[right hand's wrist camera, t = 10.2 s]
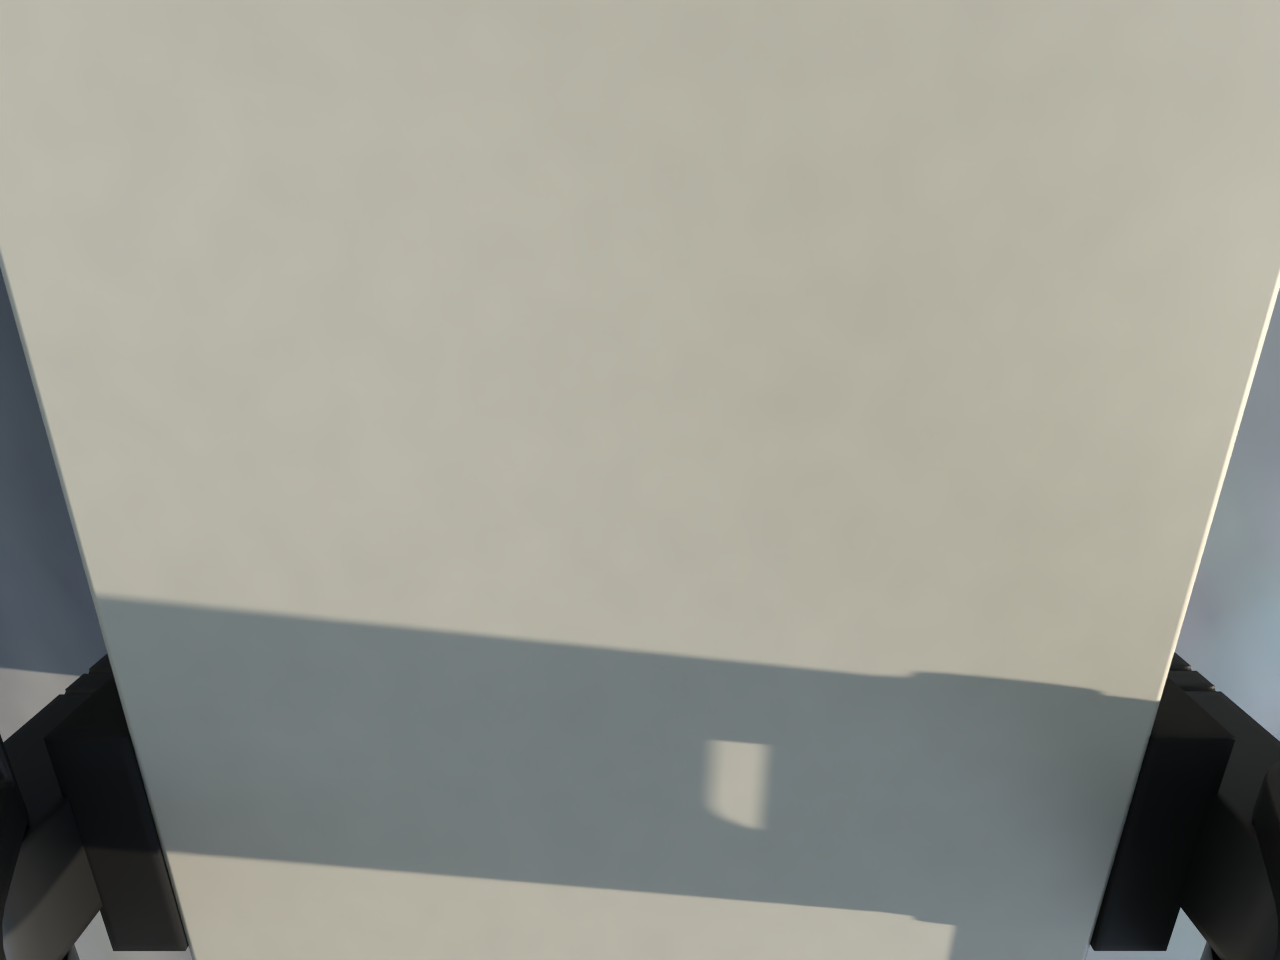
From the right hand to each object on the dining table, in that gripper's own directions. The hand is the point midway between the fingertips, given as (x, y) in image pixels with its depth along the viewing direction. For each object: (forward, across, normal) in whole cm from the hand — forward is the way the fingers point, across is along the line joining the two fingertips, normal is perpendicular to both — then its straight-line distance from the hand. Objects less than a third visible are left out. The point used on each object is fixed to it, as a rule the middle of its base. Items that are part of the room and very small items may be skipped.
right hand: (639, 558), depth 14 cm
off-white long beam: (+1, 0, -25) cm, 25 cm away
